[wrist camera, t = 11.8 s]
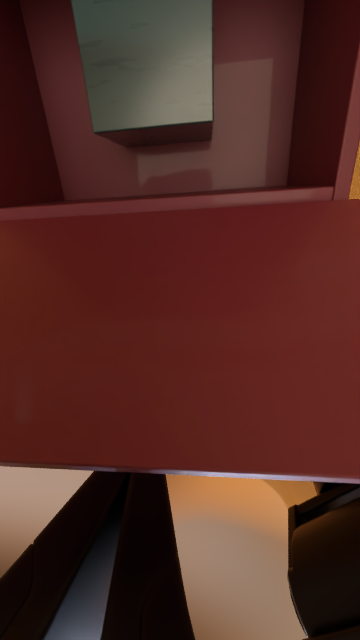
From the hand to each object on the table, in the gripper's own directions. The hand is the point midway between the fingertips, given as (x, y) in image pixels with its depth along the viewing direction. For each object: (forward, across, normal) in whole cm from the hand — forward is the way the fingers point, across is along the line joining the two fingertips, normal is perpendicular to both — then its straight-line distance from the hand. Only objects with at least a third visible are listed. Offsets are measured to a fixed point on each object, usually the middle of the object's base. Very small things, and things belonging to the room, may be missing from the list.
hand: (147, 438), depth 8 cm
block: (+8, 0, -13) cm, 15 cm away
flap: (0, 0, -5) cm, 5 cm away
